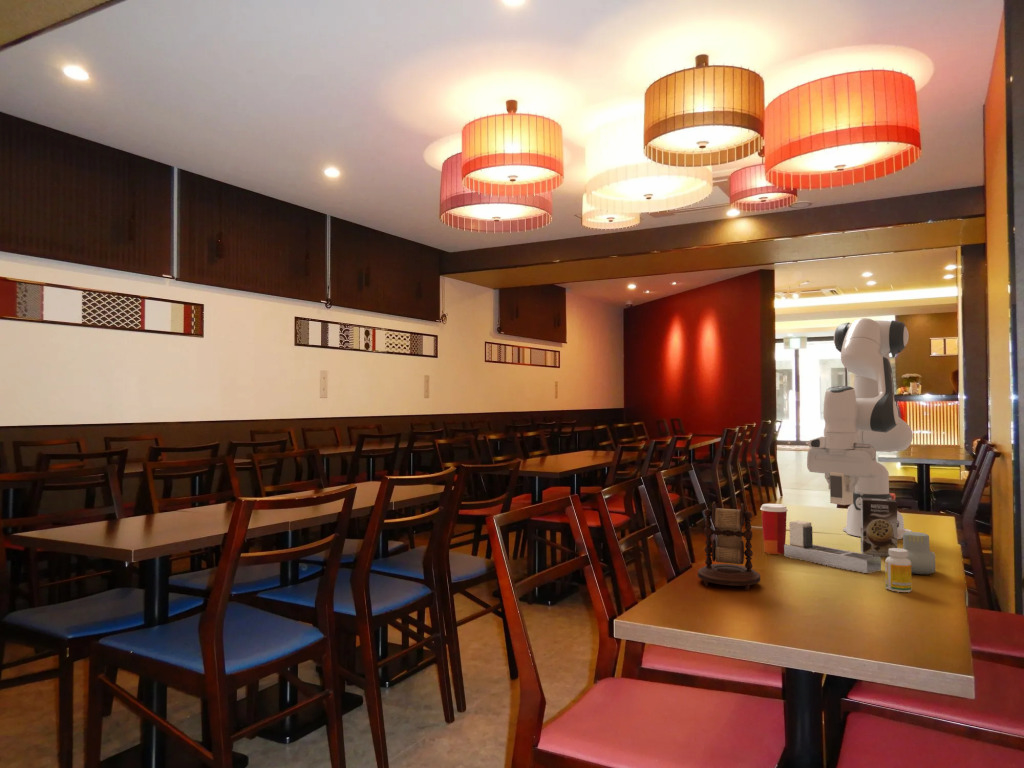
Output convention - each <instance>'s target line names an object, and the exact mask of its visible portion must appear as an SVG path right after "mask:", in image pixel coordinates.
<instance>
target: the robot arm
mask: <svg viewBox="0 0 1024 768" xmlns="http://www.w3.org/2000/svg"><path fill="white" fill-rule="evenodd" d="M909 335H910V334H909V330H908V328H907V325H906V324H905V323H904V321H898V320H890V321H888V320H875V319H871V318H859V319H856V320H854V321H853V322H845V323H841V324H839V325H838V326H837V327H836V328H835V331H834V333H833V343H834V346H835V349H836V350H837V351H838V352H840V360H841V363H842V365H843V366H844V368H845V369H846V370H847V371H848V372H850V373H852V374H854V380H853V386H847V385H839V386H831V387H828V388H827V389H826V390H825V393H824V401H823V419H824V429H823V435H822V436H819V437H817V438H812V439H809V440H808V444H807V446H808V447H809V449H808V451H807V457H806V467H807V470H808V471H809V473H817V474H824V479H825V480H826V482H827V484H828V490H829V491H830V472H838V473H844V475H845V476H850V480H851V482H850V484H849V485H848V486H846V488H847V489H846V491H847V492H853V504H849V505H848V507H847V512H846V513H847V514H846V526H845V527H843V529H842V531H844V532H846V533H847V534H849V535H851V536H855V537H860V538H861V498H878V499H894V500H895V501H896V493H890V476H889V471H888V469H887V468H886V467H885V466H884V465H883V464H881V463H880V462H877V452H879V453H881V452H883V453H892V452H893V453H894V452H902V451H906V450H907V449H908V448H910V446H911V444H912V441H913V430H912V428H911V427H910V425H909V423H907V422H906V421H904V420H903V419H902V418H901V417H900V416H899V411H898V406H897V403H896V396H895V395H896V393H895V387H894V378H893V371H892V364H891V358H893V359H894V358H895V357H896V356H897V355H898V354H899V353H901V352H903V350H905V348H906V347H907V344H908V343H909V337H910V336H909ZM890 354H891V357H890ZM904 525H905V524H904V516H903V515H902V514H901V512H899V511H898V510H897V540H902V539H903V534H904V533H905V532H913V531H912V530H911V529H907V528H905V526H904Z"/></svg>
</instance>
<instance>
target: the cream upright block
mask: <svg viewBox="0 0 1024 768" xmlns="http://www.w3.org/2000/svg"><path fill="white" fill-rule="evenodd" d="M850 482H851V480H850V476H845V475H844V473H838V472H830V490H829V493H830V494H829V495H830V496H829V499H830V500H829V501H830V504H835V505H841V506H846V505H847V506H850V505H851V504H853V492H847V491H846V489H847V488H846V486H848V485H849V484H850Z"/></svg>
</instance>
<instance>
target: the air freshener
mask: <svg viewBox="0 0 1024 768" xmlns="http://www.w3.org/2000/svg"><path fill="white" fill-rule="evenodd" d="M902 539H903V540H902V548H901V549H905V550H907V551H908V556H907V559H909V560H910V561H911V574H913V575H930V574H934V573H935V572H936V570H937V569H936V554H935V552H933V551H931V550H930V536H929V535H928V534H927V533H925V532H920V531H918V532H917V531H916V532H915V531H912V532H905V533H904V534H903V538H902Z"/></svg>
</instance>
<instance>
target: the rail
mask: <svg viewBox="0 0 1024 768" xmlns="http://www.w3.org/2000/svg"><path fill="white" fill-rule="evenodd" d="M813 542H814V541H813V526H812V522H810V521H804V520H793V521H789V544H786V543H785V545H784V554H783V555H784V556H786V557H785V558H788V557H791V558H790V559H793V558H796V559H795V560H797V559H801V560H800V561H802V560H806V561H805V562H807V561H810V562H809V563H812V562H814V563H813V564H816V563H818V564H817V565H821V564H822V566H826V565H827V567H830V568H831V567H832V568H835V567H836V568H835V569H840V568H841V570H845V569H846V571H850V570H852V571H851V572H854V571H857V572H856V573H859V572H862V573H861V574H864V573H870V574H872V573H871V572H873V573H876V572H875V571H877V572H879V570H880V571H882V556H873V555H867V554H862V552H861V553H860V552H856V551H850V550H845V549H840V548H835V547H829V546H825V545H823V546H822V545H818V544H813Z"/></svg>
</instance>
